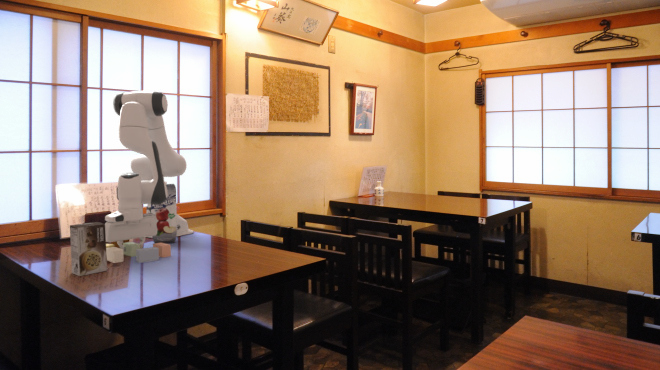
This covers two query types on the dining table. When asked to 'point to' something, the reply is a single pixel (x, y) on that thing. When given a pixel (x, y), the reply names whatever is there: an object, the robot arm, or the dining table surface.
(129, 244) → the green block
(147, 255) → the slate block
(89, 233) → the food box
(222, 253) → the dining table surface
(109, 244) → the mustard block
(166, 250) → the terracotta block
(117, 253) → the cream block
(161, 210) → the juice carton
